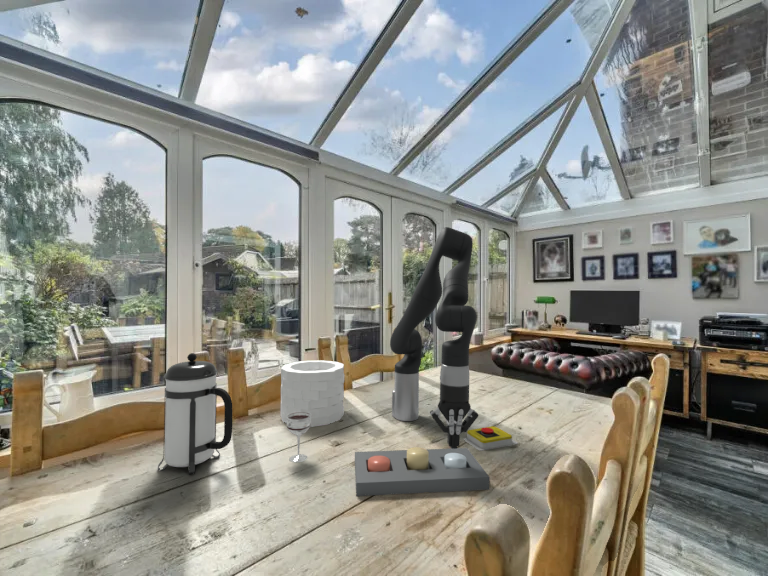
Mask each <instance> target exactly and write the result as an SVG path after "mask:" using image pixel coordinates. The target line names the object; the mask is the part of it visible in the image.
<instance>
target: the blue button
mask: <svg viewBox="0 0 768 576" xmlns="http://www.w3.org/2000/svg"><path fill="white" fill-rule="evenodd" d="M444 465H445V467H446V468H447V469H451V468H466V457H465V456H464V455H462V454H459V453H448V454H446V455H445V457H444Z"/></svg>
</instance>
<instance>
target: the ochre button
mask: <svg viewBox="0 0 768 576" xmlns="http://www.w3.org/2000/svg"><path fill="white" fill-rule="evenodd" d="M406 450H407V470H427V469H428V459H429V452H428V451H427V450H426V448H423V447H421V446H420V447H419V446H414V447H409V448H408V449H406Z"/></svg>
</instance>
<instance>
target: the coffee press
mask: <svg viewBox="0 0 768 576" xmlns="http://www.w3.org/2000/svg"><path fill="white" fill-rule="evenodd" d="M197 357H198V356H197V354H196V353H189V354H188V355H187V357H186V358H187V360H188V361H183V362H178V363H175V364H173V365H171V366H169V367H168V369H167V370H166V373H164V375H163V377H164V380H165V388H164V398H165V402H164V407H163V409H164V410H163V413H164V414H163V417H164V418H163V436H164V450H163V451H162V452H163V453H162V459H161V460H160V462H159V463H158V465H157V471H159V470H160V468H161V467H160V466H161V465H162V463H163V462H164V461H165V463H166V464H165V465H164V466H163V467H162V468H163V469H164V470H165V469H166V468H167V467H168V466H170V467H176V468H187V467H188V475H189V476H190V475H191V476H192V475H195V474H196V465H199V464H201V463H204V462H206V461H207V460H208V459H210V458H211V457H212V458H213V459H220V457H221V453H220V451H219V450H220V449H223V448H225V447H227V446H228V445H229V444H230V443H231V440H232V435H233V414H234V413H233V410H234V409H233V401H232V397H231V395H230V393H229V392H228V391H227V390H226V389H223V388H220V387H218V383H217V375H218V369H216V366H215V364H213V363H211V362H210V361H205V360H197ZM217 397H220V398H221V400H222V401H223V405H224V423H223V424H224V426H223V427H224V429H223V430H224V431H223V432H224V433H223V438H222V440H221V441H217ZM215 451H216V452H217V453H218V455H214V453H215Z"/></svg>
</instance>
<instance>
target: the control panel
mask: <svg viewBox="0 0 768 576" xmlns="http://www.w3.org/2000/svg"><path fill="white" fill-rule="evenodd" d="M425 449H426V448H425ZM407 450H408V449H400V450H398V449H397V450H395V449H394V450H375V451H374V450H372V451H371V450H369V451H354V475H355V476H354V477H355V495H356V496H355V497H363V496H383V495H384V496H385V495H403V494H404V495H406V494H425V493H424V492H429V493H444V492H466V491H469V492H470V491H488V490H490V476H489V474H488V473H487V472H486V471H485V470H484V468H483V466H482V465H481V464H480V463H479V462H478V460H477V459H476V458H475V456H474V455H473V454H472V453H471V451H470V449H469V448H467V447H457V449H451V447H449V448H431V449H430V448H427V449H426V450H427V451H428V452H429V459H428V469H427V470H408V469H407ZM448 453H459V454H462V455H464V456H465V457H466V468H451V469H447V468H446V467H445V465H444V457H445V455H446V454H448ZM373 456H385V457H387V458H389V459H390V471H380V472H368V459H369V458H370V457H373Z"/></svg>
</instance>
